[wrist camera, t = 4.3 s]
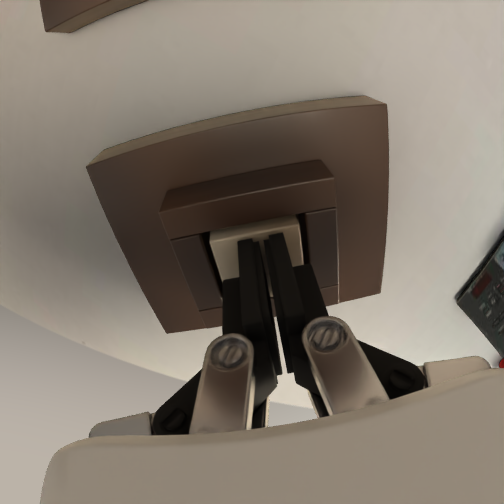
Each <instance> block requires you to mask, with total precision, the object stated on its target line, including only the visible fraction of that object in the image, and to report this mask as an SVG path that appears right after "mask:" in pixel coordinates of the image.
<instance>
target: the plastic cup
mask: <svg viewBox="0 0 504 504" xmlns="http://www.w3.org/2000/svg"><path fill="white" fill-rule="evenodd" d="M499 367H500V368H504V359H502V360H501V361H500V364H499Z"/></svg>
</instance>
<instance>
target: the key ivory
mask: <svg viewBox="0 0 504 504" xmlns="http://www.w3.org/2000/svg"><path fill="white" fill-rule="evenodd" d="M282 232H283V234H284V237H285V241H286V245H287V248H288V252H289V255H290V259H291V263H292V266H293V267H294V266H299V265H304V260H303V251H302V242H301V233H300V225H299V222H298V220H297V217H296V215H295V214H294V215H288V216H283V217H278V218H273V219H268V220H263V221H258V222H252V223H247V224H242V225H237V226H233V227H228V228H223V229H218V230H213V231H210V245H211V249H212V252H213V255H214V258H215V261H216V264H217V267H218V270H219V273H220V276H221V279H222V282H223V280H225V279H231V278H236V277H239V263H238V244H237V242H238V241H241V240H246V239H251V238H252V240H253V242H257V241H259V245H260V250H261V254H262V259H263V264H264V269H265V273H266V278H267V283H268V288H269V293H270V297H273V293H272V287H271V281H270V275H269V269H268V264H267V258H266V252H265V246H264V241H263V240H267V239H269V235H272V234H277V233H282Z"/></svg>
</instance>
